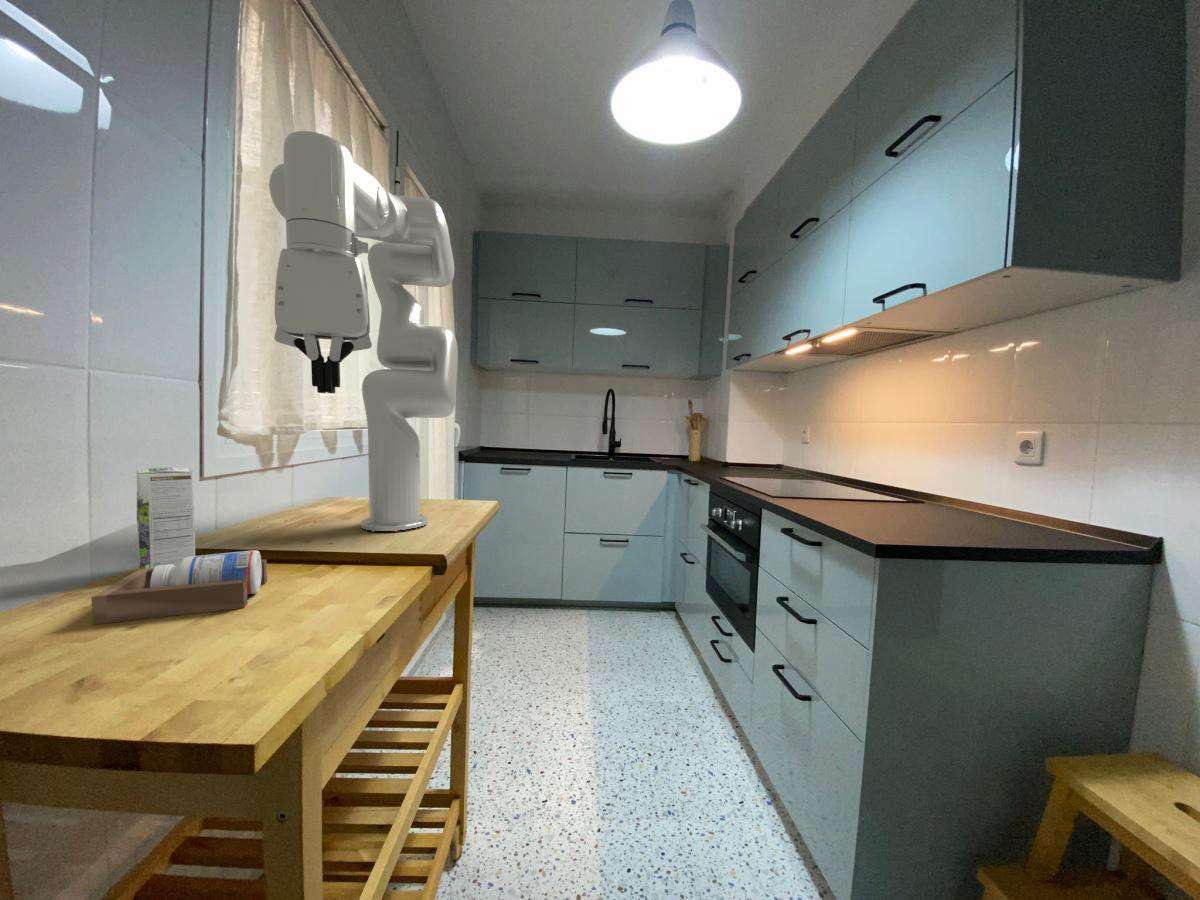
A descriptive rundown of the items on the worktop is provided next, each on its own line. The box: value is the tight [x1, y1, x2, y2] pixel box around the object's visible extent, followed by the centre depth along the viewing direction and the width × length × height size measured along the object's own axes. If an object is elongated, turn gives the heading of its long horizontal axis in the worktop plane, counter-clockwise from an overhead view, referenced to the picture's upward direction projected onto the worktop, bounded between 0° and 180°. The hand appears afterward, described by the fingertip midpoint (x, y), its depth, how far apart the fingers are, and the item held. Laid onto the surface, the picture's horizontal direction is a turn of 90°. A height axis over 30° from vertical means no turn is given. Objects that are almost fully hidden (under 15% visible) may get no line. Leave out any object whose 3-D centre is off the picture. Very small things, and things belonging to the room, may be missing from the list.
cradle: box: [90, 558, 268, 625], centre depth 56 cm, size 9×13×3 cm
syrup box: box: [136, 466, 196, 570], centre depth 66 cm, size 6×6×14 cm
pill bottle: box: [150, 549, 262, 596], centre depth 57 cm, size 6×5×10 cm
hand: (326, 392), depth 60 cm, fingers closed
